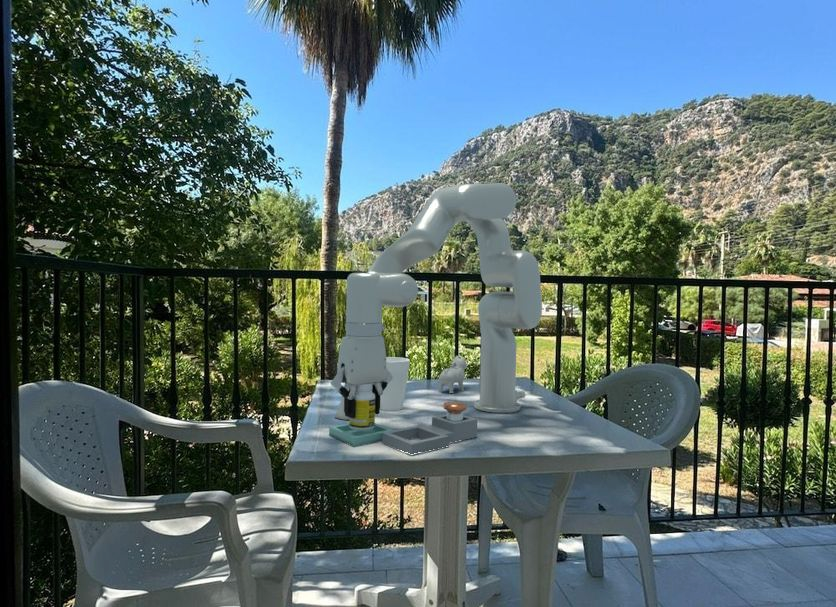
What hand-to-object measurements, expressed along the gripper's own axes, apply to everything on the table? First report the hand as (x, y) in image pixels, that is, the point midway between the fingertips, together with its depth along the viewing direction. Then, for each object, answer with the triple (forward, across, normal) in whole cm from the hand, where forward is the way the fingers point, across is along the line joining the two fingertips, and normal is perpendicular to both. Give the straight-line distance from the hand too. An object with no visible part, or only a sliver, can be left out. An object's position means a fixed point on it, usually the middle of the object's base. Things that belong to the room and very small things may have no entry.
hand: (362, 414), depth 112 cm
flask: (+5, -7, -16) cm, 18 cm away
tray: (+5, 0, 0) cm, 5 cm away
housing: (+5, -11, +11) cm, 16 cm away
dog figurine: (+5, -51, -26) cm, 57 cm away
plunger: (+5, -17, +11) cm, 21 cm away
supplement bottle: (+3, 0, 0) cm, 3 cm away
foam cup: (+5, -21, -18) cm, 28 cm away
